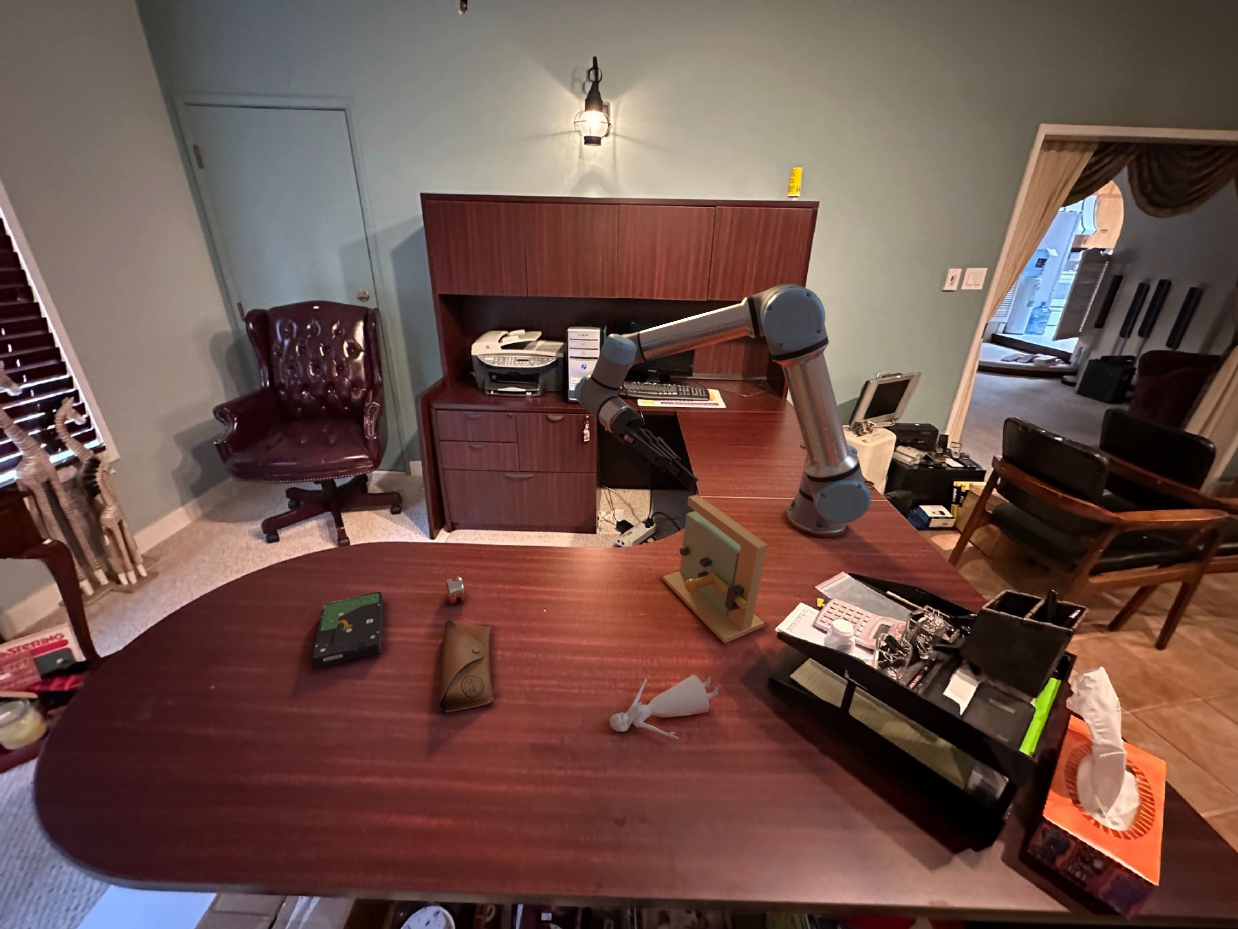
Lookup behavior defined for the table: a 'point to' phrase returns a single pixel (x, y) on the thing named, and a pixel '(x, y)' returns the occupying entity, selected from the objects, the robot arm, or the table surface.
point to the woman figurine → (667, 705)
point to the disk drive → (349, 630)
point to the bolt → (711, 578)
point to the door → (719, 570)
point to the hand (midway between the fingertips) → (693, 484)
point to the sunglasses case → (465, 667)
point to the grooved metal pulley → (455, 589)
